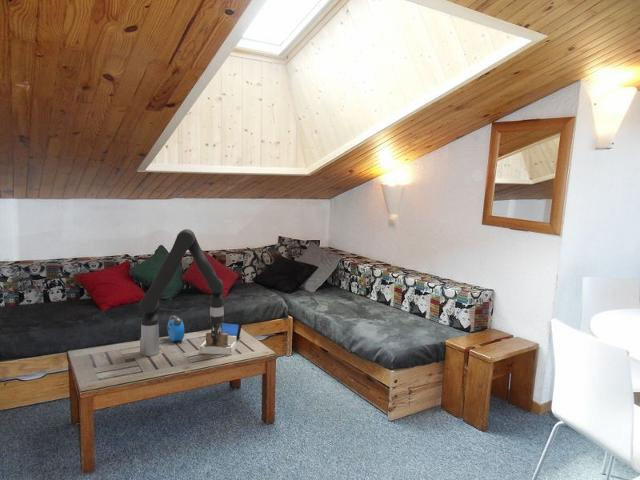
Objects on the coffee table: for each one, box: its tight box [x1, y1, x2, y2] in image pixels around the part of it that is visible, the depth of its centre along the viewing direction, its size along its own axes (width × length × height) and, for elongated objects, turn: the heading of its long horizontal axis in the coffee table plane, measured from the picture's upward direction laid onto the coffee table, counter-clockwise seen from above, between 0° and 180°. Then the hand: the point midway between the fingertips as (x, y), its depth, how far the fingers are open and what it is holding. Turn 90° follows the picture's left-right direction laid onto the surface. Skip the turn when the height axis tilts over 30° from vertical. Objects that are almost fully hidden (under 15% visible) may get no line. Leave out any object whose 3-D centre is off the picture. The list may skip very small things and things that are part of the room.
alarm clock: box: [167, 315, 185, 342], centre depth 290 cm, size 13×6×15 cm, turn 37°
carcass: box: [199, 336, 237, 356], centre depth 275 cm, size 18×12×7 cm
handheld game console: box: [221, 321, 243, 342], centre depth 295 cm, size 16×13×9 cm
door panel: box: [205, 331, 228, 347], centre depth 272 cm, size 12×2×10 cm, turn 86°
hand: (216, 341), depth 272 cm, fingers open, 8 cm apart
